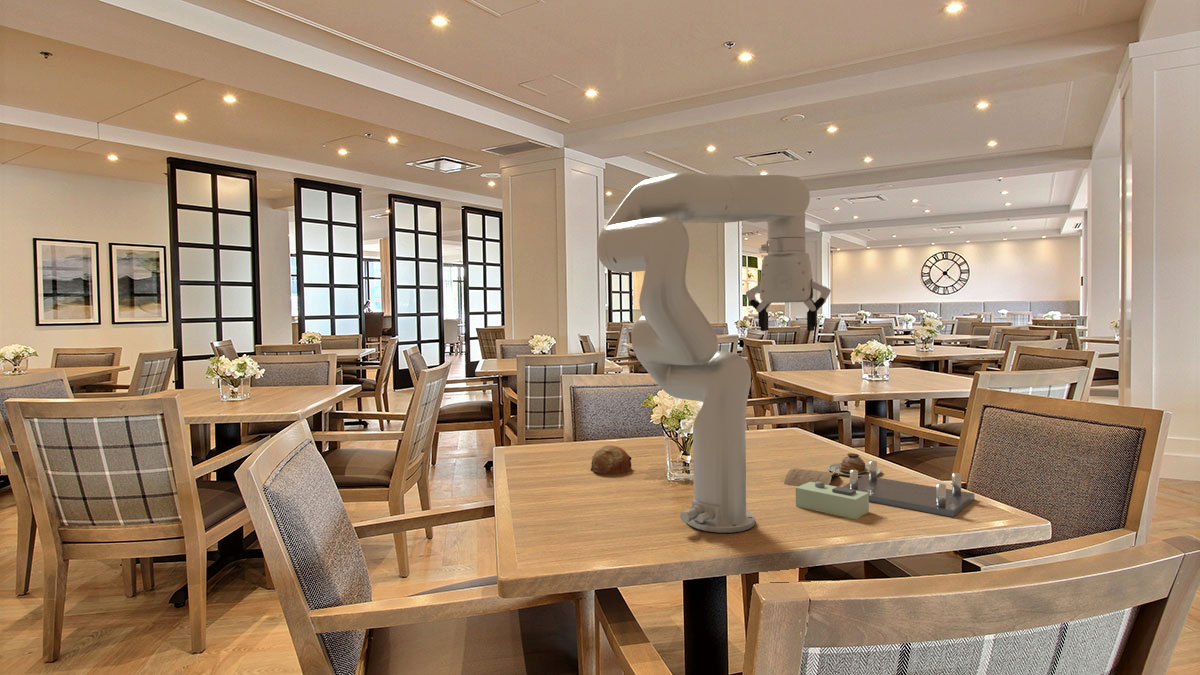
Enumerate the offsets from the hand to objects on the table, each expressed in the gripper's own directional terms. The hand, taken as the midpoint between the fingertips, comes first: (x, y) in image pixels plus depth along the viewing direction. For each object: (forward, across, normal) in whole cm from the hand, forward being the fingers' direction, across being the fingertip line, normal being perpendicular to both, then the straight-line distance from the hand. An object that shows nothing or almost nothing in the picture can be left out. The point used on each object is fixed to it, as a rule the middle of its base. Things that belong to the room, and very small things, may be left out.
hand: (787, 330), depth 131 cm
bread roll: (+35, -44, 0) cm, 56 cm away
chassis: (+35, +21, +10) cm, 42 cm away
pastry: (+36, +8, +27) cm, 45 cm away
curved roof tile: (+36, +1, +14) cm, 38 cm away
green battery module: (+35, +10, -5) cm, 37 cm away
